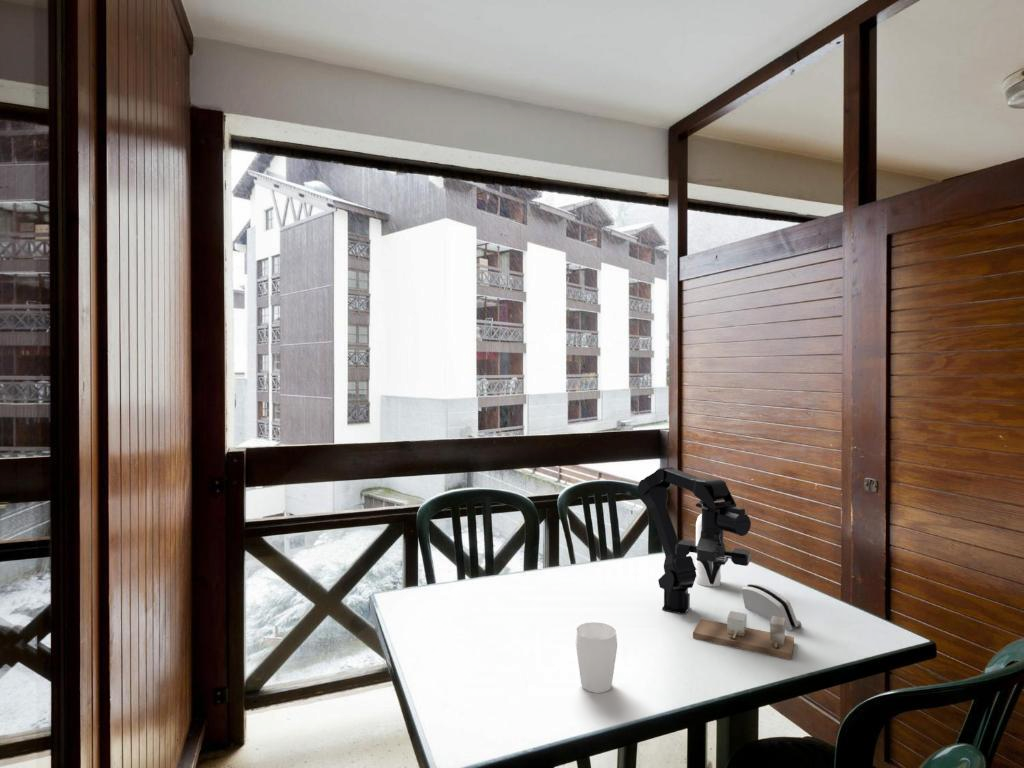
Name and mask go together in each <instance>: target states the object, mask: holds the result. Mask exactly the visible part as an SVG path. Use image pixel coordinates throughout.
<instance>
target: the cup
mask: <svg viewBox="0 0 1024 768" xmlns="http://www.w3.org/2000/svg"><path fill="white" fill-rule="evenodd" d="M575 634H576V637H575V648H576V655H577V664H578V672H579V678H580V684H581V687H582V688H583V689H584V690H585V691H587V692H590V693H595V694H602V693H605V692H608V691H610V690H611V689H612V685H613V679H614V671H615V664H616V658H617V653H618V651H617V650H618V638H617V630H616V628H614V627H613V626H612V625H609V624H606V623H603V622H593V621H592V622H591V621H590V622H585V623H582V624H579V625H578V626H577V628H576V633H575Z"/></svg>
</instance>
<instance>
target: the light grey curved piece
mask: <svg viewBox="0 0 1024 768" xmlns="http://www.w3.org/2000/svg"><path fill="white" fill-rule="evenodd" d="M741 595H742V599H743V604H744V608H745V609H746V610H749V611H750V612H752V613H754V614H755V615H758V616H760V617H762V618H764V619H765V620H768V621H769V622H771V618H772V616H777V617H782V618H785V631H789V632H791V631H792V630H793V627H795V628H797V627H798V628H800V629H802V628H803V624H802V622H801V620H798V619H797V617H796V613H795V612H794V609H793V606H792V604H791V602H790V600H789V599H787V598H786V597H785V596H784V595H782V594H780V593H779V592H778V591H776V590H775V589H773V588H770V587H769V586H766V585H763V584H760V583H754V582H753V583H749V584H747V585H746V586H744V587H742V588H741Z"/></svg>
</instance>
